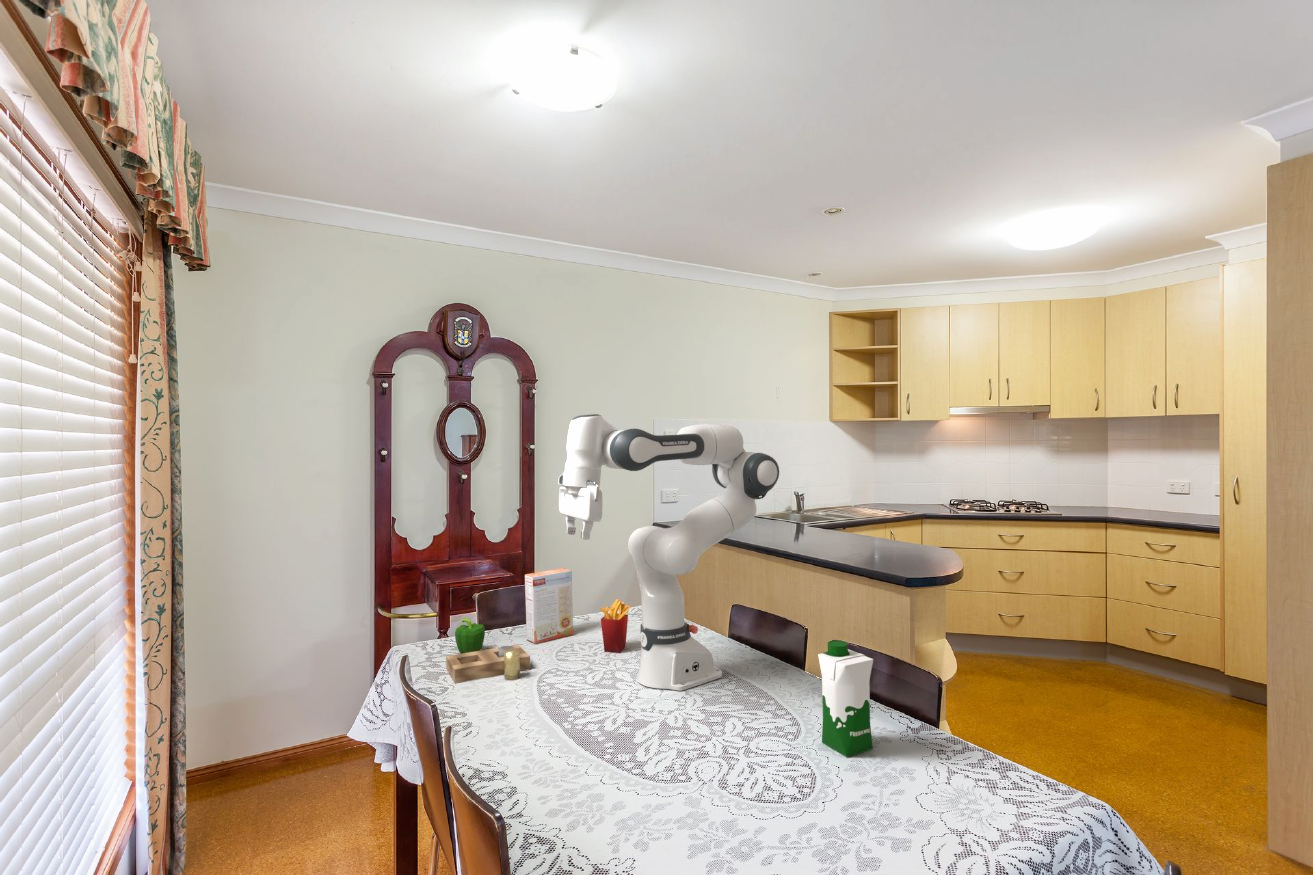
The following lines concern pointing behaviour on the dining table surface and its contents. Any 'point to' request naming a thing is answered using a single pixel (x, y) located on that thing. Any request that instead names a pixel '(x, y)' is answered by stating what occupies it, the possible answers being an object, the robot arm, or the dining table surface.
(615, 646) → the french fries
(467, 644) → the bell pepper
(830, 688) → the milk carton
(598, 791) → the dining table surface
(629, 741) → the dining table surface
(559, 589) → the cracker box
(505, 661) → the bushing
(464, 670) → the jig
